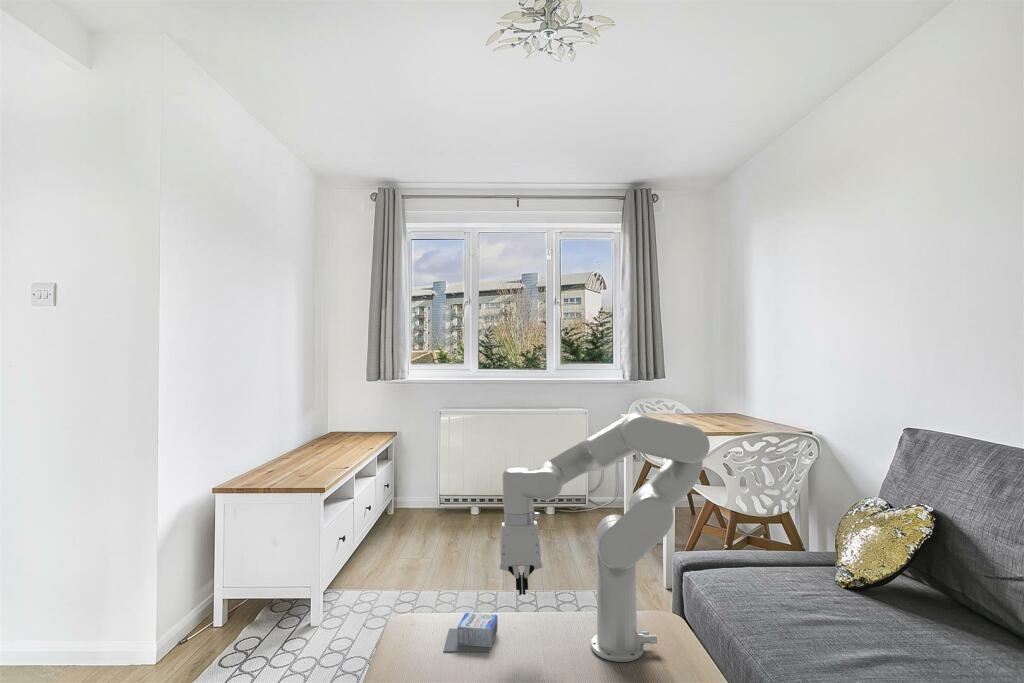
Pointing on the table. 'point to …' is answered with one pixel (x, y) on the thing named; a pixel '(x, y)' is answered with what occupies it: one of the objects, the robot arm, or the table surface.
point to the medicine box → (477, 630)
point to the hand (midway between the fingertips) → (522, 592)
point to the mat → (453, 645)
